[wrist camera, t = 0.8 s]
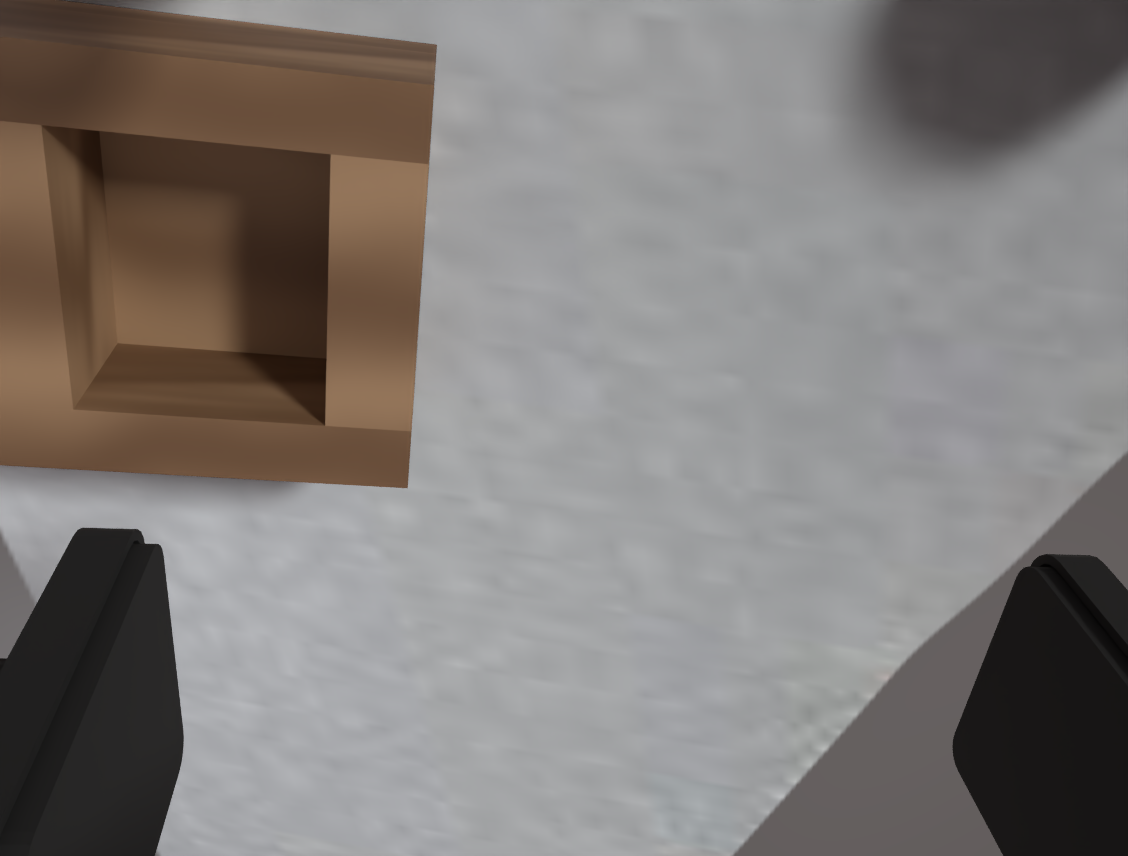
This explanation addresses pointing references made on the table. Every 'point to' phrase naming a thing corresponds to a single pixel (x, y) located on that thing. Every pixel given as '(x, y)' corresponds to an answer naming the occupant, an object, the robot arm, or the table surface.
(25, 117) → the block
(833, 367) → the table surface
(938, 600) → the table surface
